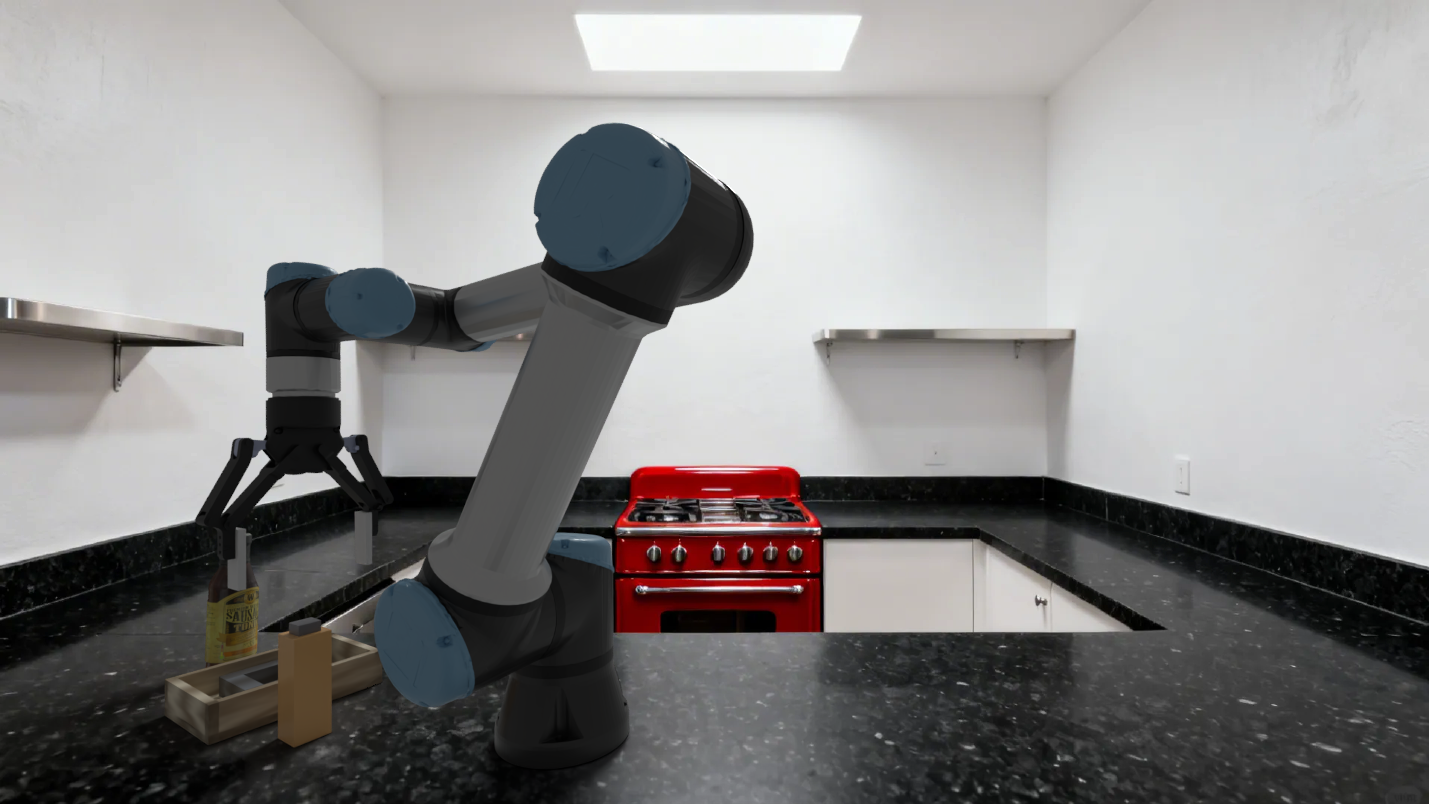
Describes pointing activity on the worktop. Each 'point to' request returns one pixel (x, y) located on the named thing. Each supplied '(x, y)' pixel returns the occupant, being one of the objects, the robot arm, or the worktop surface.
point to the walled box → (256, 690)
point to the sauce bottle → (231, 616)
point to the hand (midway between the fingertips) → (305, 575)
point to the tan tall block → (304, 682)
